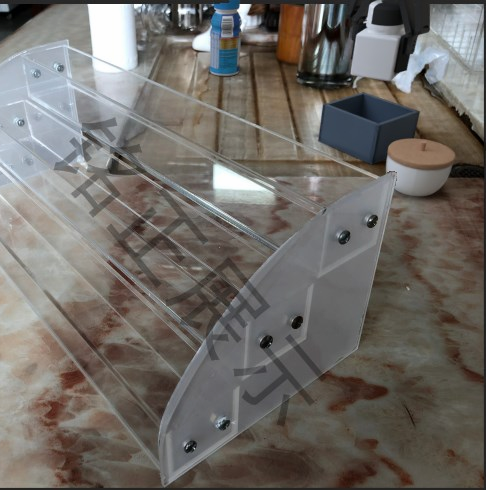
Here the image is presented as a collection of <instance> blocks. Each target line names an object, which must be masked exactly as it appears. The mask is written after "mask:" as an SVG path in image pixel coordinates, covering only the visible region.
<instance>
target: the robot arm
mask: <svg viewBox="0 0 486 490" xmlns="http://www.w3.org/2000/svg"><path fill="white" fill-rule="evenodd" d="M374 1H377V0H349V3H348V6H347V9H346V12H345V14H344V15H345V18H346V19H349V20H351V22H352V29H351V41H352V46H351V47H352V49H351V54H350V60H351V61H353V54H354V48H355V41H356V35H357V34H358V33H360V32H361V31H363V30H364V29H366V28H367V26H366V23H367V17H368V11H369V5H370V4H371V3H372V2H374ZM398 2H399V7H400V11H401V16H402V20H403V25H404V27H403V29H405V35H403V36H401V39H400V44H399V49H398V54H397V59H396V64H395V70H394V72H395V73H399V74H400V73H403V72H407V71H408V68H409V63H410V59H411V55H413V54H414V53H415V52H416V51H415V50H416V46H417V42H418V37H419V36H421V35H423V34H425V35H426V34H428V33H430V32H431V0H398Z"/></svg>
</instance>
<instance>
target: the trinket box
mask: <svg viewBox="0 0 486 490" xmlns="http://www.w3.org/2000/svg"><path fill="white" fill-rule="evenodd" d="M455 159H456V153H455V152H454V150H453V149H452V148H451V147H449V146H447V145H445V144H443V143H440V142H439V141H438V142H437V141H435V140H429V139H426V138H425V139H424V138H414V139H401V140H397V141H394V142H393V143H391V144H390V145H389V147H388V155H387V159H386V160H385V161H386V162H385V174H386V173H387V172H389V171H395V172H397V181H396V186H395V189H394V191H397V192H398V193H400V194H403V195H406V196H411V197H428V196H431V195H433V194H434V193H437V191H439V190H440V189H441V188H442V187H443V186H444V184H446V182H447V181H448V178H449V176H450V174H451V171H452V168H453V164H454V163H455Z"/></svg>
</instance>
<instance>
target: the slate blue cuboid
mask: <svg viewBox="0 0 486 490" xmlns="http://www.w3.org/2000/svg"><path fill="white" fill-rule="evenodd" d="M321 109H322V110H321V115H320V124H319V132H318V140H317V142H319V143H322V144H324V145H326V146H328V147H330V148H332V149H335V150H337V151H339V152H342V153H344V154H346V155H349V156H351V157H353V158H356V159H357V160H360V161H362V162H364V163H366V164H369V165H371V166H372V165H374V164H377V163H380V162H383V161H384V160H385V161H386V160H387V155H388V147H389V145H390V144H391V143H393V142H394V141H397V140H401V139H415V135H416V131H417V127H418V122H419V118H420V113H421V111H420V110H417V109H414V108H411V107H409V106H405V105H402V104H399V103H396V102H394V101H391V100H387V99H385V98H382V97H379V96H375V95H373V94H370V93H367V92H364V91H362V92H358V93H356V94H352V95H349V96H345V97H343V98H339V99H335V100H333V101H329V102H325V103H322V107H321Z"/></svg>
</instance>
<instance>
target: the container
mask: <svg viewBox="0 0 486 490" xmlns="http://www.w3.org/2000/svg"><path fill="white" fill-rule="evenodd" d="M365 23H366V26H367V28H366V29H364V30H363V31H361V32H360V33H358V34H357V35H356V41H355V48H354V54H353V60H351V61H352V62H351V68H350V75H351V76H353V77H354V76H355V77H358V78H359V77H361V78H366V79H371V80H372V79H373V80H378V81H385V82H391V81H393V80H394V79H395V78H396V77H397V76H398V75H399V74H400V73H395V72H394V70H395V64H396V59H397V54H398V49H399V44H400V39H401V36H403V35H405V29H404V25H403V20H402V16H401V11H400V7H399V2H398V0H377V1H374V2H372V3H371V4H370V5H369V11H368V17H367V21H366V22H365Z"/></svg>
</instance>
